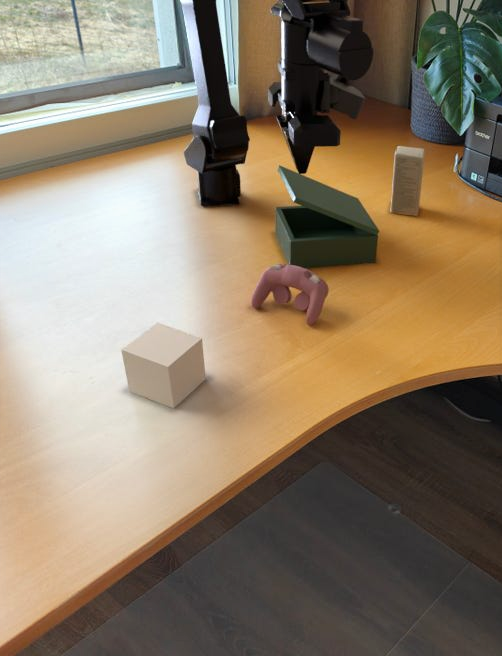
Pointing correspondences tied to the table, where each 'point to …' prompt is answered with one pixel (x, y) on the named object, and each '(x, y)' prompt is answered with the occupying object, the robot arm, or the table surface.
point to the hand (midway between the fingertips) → (301, 171)
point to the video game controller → (295, 277)
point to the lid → (326, 200)
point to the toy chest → (321, 239)
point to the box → (407, 180)
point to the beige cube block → (164, 364)
